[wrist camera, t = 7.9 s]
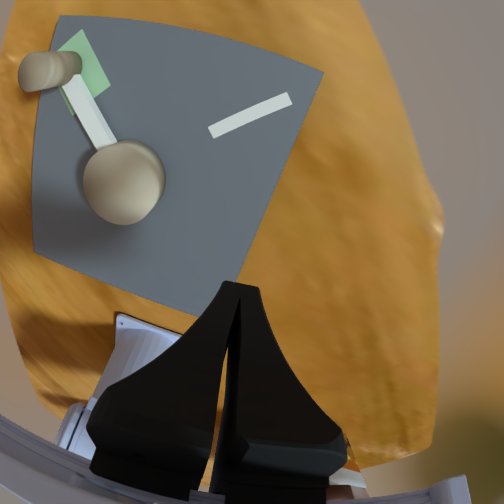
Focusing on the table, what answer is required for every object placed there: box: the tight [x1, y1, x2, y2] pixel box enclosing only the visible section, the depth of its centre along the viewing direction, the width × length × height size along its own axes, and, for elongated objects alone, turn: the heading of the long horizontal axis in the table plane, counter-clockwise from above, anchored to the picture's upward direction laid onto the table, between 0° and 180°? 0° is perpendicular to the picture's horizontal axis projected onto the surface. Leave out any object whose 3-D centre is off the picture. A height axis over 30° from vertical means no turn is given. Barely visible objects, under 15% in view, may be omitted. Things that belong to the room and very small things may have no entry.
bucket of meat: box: [326, 428, 370, 501], centre depth 29 cm, size 20×16×20 cm
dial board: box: [32, 15, 324, 317], centre depth 19 cm, size 20×18×1 cm
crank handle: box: [18, 51, 166, 225], centre depth 15 cm, size 13×5×4 cm, turn 26°
